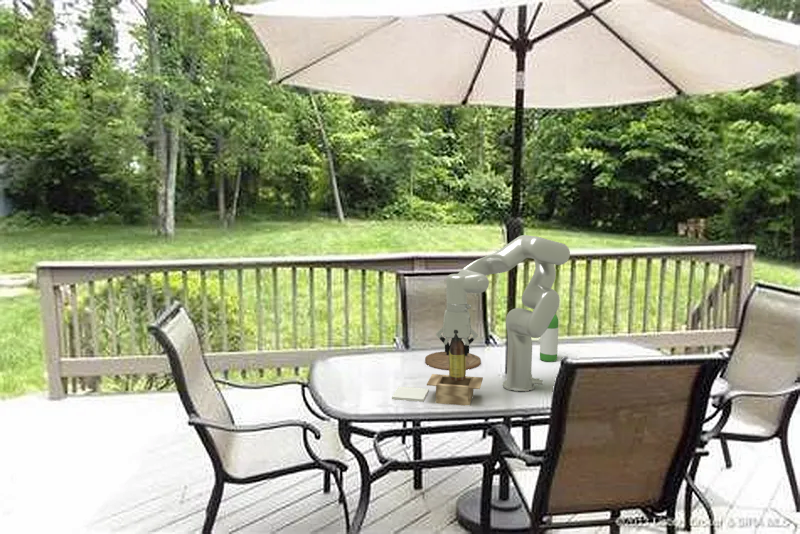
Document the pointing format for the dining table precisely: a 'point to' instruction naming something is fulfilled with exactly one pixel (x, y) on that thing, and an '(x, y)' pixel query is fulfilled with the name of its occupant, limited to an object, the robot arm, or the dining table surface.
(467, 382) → the carton
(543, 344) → the wine bottle
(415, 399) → the mat
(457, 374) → the sauce bottle
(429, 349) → the dining table surface
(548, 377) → the dining table surface
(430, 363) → the trivet
